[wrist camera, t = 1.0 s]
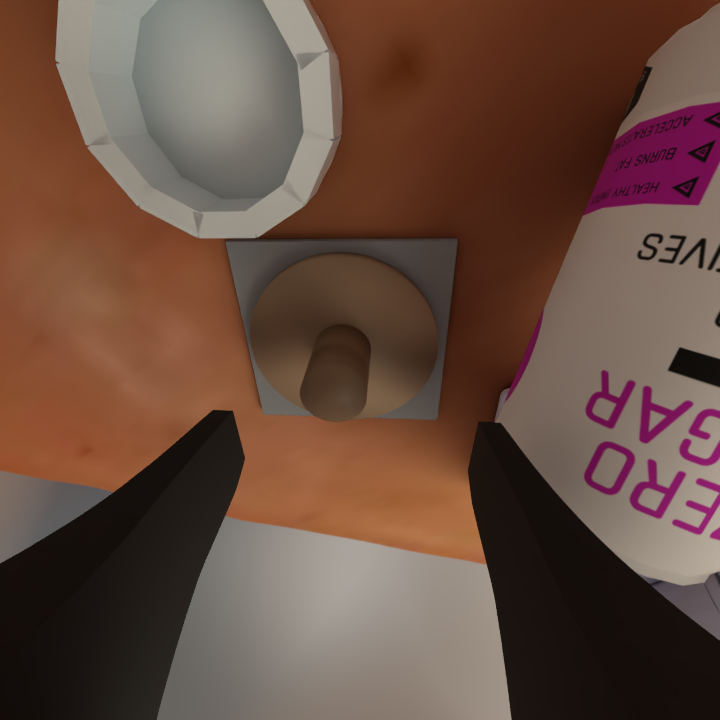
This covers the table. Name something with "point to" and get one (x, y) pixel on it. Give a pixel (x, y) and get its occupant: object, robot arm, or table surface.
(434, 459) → the table surface
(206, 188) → the bowl
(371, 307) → the lid
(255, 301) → the mat
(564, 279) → the supplement can
